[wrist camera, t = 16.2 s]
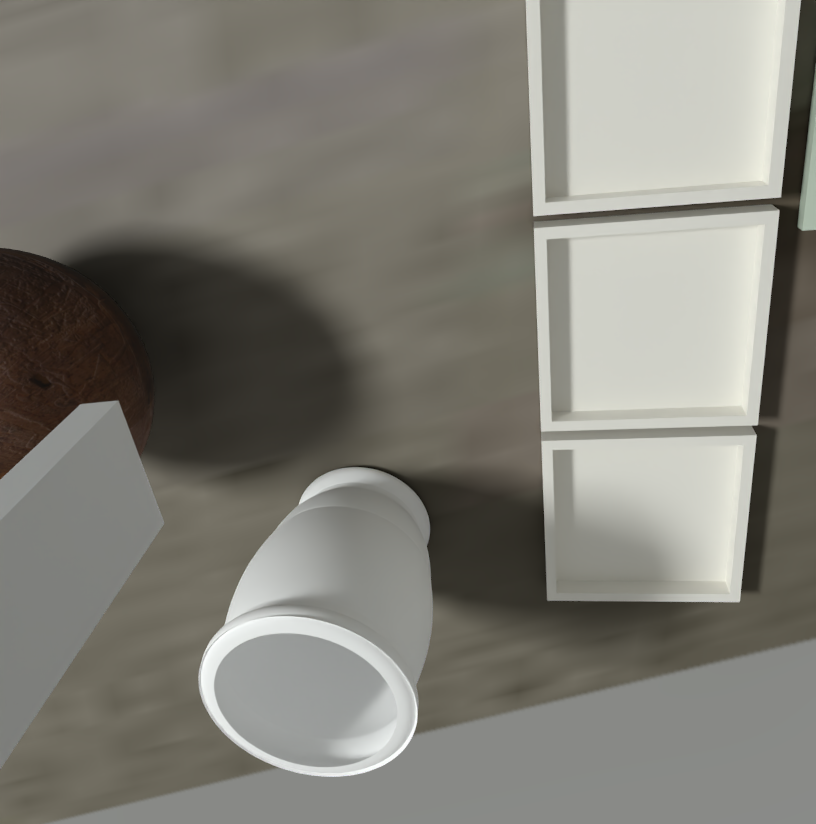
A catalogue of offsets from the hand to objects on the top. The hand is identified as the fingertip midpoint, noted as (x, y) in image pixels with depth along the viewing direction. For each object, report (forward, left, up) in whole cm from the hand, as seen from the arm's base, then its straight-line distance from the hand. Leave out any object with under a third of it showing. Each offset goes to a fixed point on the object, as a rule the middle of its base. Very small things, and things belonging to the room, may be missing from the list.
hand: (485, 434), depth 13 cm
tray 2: (+21, +7, -29) cm, 36 cm away
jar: (+21, -10, -29) cm, 37 cm away
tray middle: (+9, +7, -29) cm, 31 cm away
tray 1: (-3, +7, -29) cm, 29 cm away
